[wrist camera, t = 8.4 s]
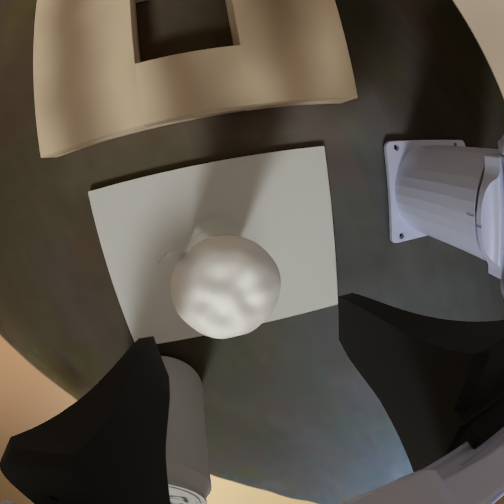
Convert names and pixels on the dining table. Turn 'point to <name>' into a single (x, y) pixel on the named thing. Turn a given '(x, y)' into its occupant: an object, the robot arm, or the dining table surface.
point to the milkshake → (223, 280)
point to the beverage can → (186, 436)
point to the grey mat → (224, 205)
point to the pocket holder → (178, 69)
